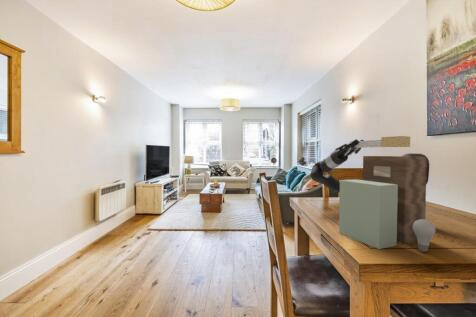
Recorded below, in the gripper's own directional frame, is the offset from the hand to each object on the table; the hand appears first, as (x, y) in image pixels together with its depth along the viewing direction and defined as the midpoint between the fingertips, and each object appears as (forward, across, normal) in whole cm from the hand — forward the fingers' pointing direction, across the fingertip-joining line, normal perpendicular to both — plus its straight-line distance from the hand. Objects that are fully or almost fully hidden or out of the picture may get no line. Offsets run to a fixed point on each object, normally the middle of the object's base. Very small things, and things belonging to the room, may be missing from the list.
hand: (360, 141), depth 111 cm
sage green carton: (-6, +14, -41) cm, 44 cm away
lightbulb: (+8, +7, -50) cm, 51 cm away
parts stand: (-6, 0, -41) cm, 42 cm away
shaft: (+6, 0, -7) cm, 9 cm away
